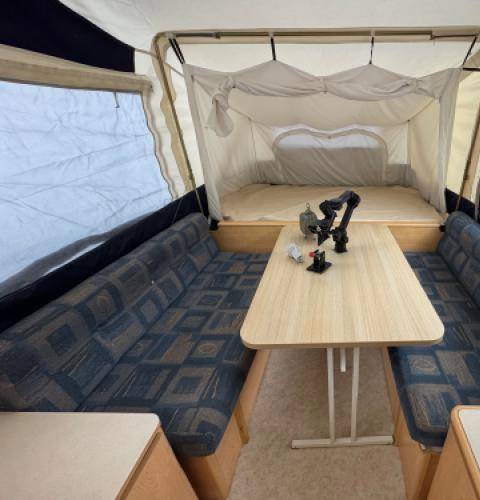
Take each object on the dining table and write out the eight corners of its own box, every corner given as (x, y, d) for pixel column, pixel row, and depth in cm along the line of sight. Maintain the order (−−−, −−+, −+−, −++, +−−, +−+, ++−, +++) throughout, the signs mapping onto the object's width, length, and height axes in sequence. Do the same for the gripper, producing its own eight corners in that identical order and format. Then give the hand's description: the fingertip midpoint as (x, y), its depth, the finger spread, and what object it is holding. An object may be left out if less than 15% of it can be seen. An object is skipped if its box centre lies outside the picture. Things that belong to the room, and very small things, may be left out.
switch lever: (312, 258, 135) (313, 252, 135) (307, 256, 136) (308, 251, 136) (322, 257, 145) (323, 252, 145) (317, 256, 146) (318, 251, 146)
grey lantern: (318, 240, 182) (317, 205, 171) (305, 242, 179) (304, 206, 168) (311, 233, 194) (310, 199, 183) (299, 234, 191) (298, 200, 180)
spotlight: (298, 251, 163) (296, 240, 158) (307, 261, 156) (305, 250, 151) (286, 256, 160) (284, 245, 155) (295, 266, 153) (293, 256, 147)
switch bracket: (320, 274, 141) (320, 257, 137) (306, 269, 145) (306, 253, 141) (331, 264, 150) (331, 249, 146) (318, 261, 154) (318, 245, 150)
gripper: (308, 210, 142) (297, 235, 138) (339, 215, 134) (328, 242, 130) (316, 220, 152) (306, 244, 148) (345, 225, 144) (335, 251, 140)
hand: (318, 245), depth 141 cm, fingers closed
